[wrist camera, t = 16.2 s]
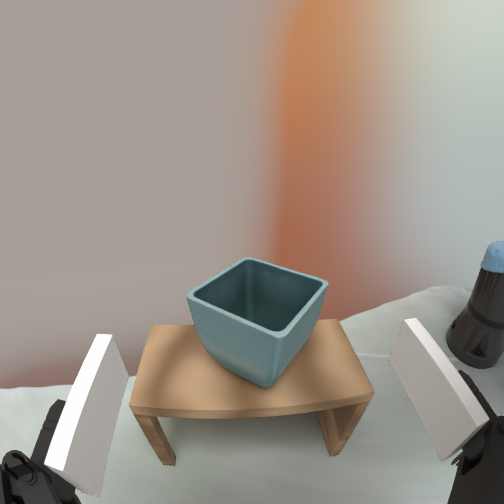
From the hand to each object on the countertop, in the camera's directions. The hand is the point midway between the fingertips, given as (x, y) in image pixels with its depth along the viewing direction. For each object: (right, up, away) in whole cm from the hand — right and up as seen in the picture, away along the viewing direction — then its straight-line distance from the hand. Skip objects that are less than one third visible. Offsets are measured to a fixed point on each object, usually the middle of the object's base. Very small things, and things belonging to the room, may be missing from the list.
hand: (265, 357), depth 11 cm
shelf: (-1, -20, +21) cm, 29 cm away
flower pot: (0, -7, +15) cm, 16 cm away
